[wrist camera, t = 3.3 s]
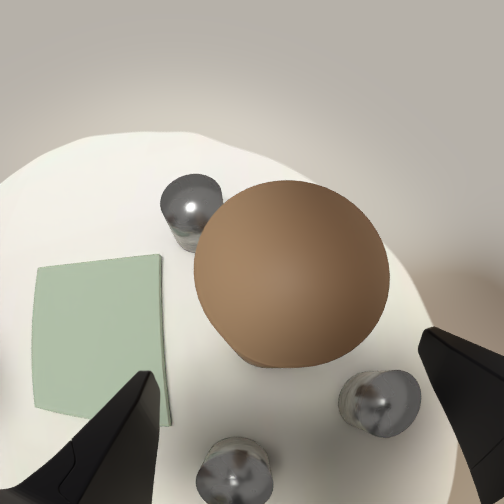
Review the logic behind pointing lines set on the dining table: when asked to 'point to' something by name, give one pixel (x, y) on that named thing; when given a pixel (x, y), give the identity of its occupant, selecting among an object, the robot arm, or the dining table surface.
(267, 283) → the walnut post
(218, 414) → the dining table surface
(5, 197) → the dining table surface
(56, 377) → the mat
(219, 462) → the cylinder
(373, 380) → the cylinder
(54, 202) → the dining table surface
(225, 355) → the dining table surface
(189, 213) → the cylinder
